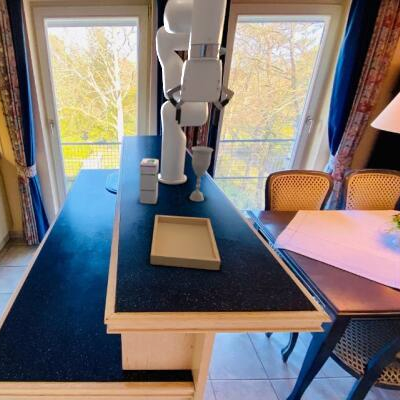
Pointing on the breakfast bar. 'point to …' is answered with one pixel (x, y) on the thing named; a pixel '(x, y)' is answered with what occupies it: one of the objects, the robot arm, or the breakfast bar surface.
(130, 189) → the breakfast bar surface
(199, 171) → the chalice
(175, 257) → the tray
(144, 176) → the syrup box
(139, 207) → the breakfast bar surface
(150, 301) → the breakfast bar surface
